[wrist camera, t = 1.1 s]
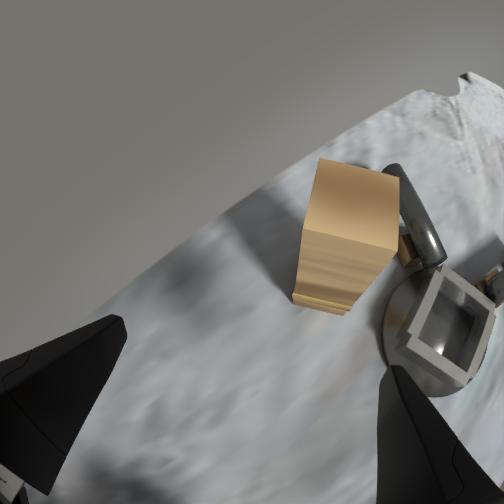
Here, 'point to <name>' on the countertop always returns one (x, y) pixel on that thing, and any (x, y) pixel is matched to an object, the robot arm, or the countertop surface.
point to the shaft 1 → (415, 226)
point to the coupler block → (346, 235)
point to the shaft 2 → (493, 287)
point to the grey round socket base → (437, 329)
